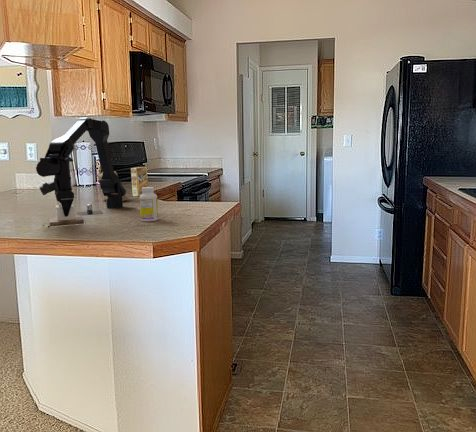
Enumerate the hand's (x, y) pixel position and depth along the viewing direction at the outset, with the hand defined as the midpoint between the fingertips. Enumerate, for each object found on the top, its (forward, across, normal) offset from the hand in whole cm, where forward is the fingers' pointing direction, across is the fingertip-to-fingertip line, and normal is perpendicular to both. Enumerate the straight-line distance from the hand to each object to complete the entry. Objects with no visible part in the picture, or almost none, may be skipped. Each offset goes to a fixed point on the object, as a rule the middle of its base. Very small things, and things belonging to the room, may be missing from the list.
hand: (65, 214), depth 184 cm
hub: (+3, 0, 0) cm, 3 cm away
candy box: (+3, -69, +42) cm, 81 cm away
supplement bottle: (+3, +11, +30) cm, 32 cm away
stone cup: (+3, -53, +25) cm, 59 cm away
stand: (+3, -13, +10) cm, 17 cm away
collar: (+1, 0, 0) cm, 1 cm away
